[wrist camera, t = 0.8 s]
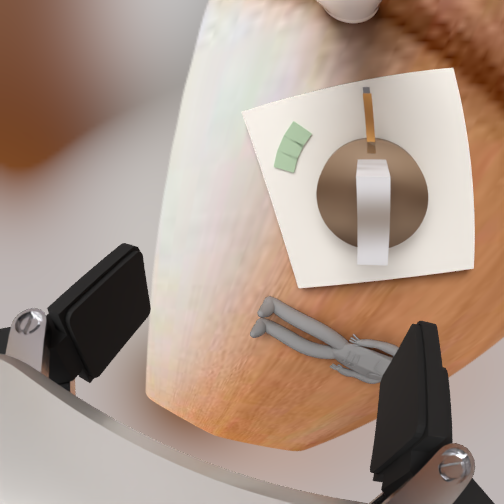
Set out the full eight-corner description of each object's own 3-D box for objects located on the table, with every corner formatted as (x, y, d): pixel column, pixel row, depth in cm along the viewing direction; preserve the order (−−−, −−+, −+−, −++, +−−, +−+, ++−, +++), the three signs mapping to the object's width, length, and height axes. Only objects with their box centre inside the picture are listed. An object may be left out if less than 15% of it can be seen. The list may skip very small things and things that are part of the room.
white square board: (448, 68, 20) (453, 67, 19) (470, 261, 28) (474, 269, 27) (246, 110, 29) (240, 112, 28) (301, 280, 37) (298, 289, 36)
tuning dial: (421, 241, 28) (430, 283, 22) (322, 238, 31) (310, 278, 26) (423, 93, 21) (442, 98, 16) (309, 95, 25) (292, 99, 19)
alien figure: (258, 305, 36) (441, 380, 32) (272, 282, 40) (439, 352, 36) (243, 346, 41) (406, 410, 37) (257, 322, 45) (408, 384, 40)
